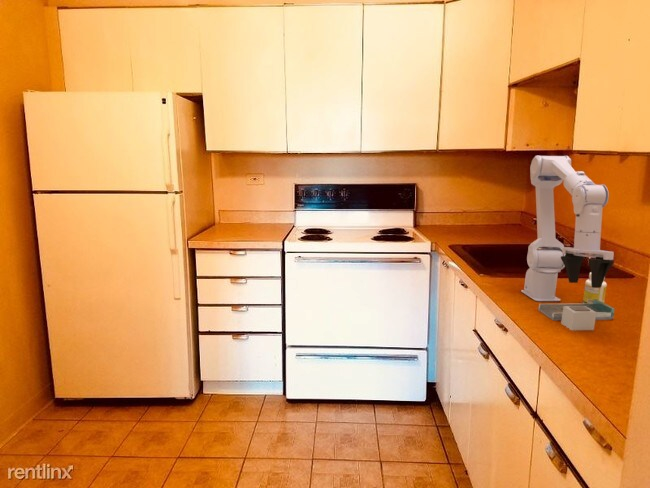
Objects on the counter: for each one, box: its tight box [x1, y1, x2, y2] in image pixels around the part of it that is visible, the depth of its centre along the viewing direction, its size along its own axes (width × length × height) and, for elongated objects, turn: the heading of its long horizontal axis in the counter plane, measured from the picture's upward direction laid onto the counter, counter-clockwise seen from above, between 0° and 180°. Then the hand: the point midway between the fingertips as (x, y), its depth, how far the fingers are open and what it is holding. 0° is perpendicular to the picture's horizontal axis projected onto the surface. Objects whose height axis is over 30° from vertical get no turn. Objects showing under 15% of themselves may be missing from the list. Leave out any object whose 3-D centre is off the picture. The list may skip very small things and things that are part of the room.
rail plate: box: [538, 299, 615, 321], centre depth 122 cm, size 17×8×3 cm, turn 93°
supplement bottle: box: [582, 271, 608, 303], centre depth 129 cm, size 5×5×10 cm
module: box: [560, 306, 596, 331], centre depth 113 cm, size 4×6×5 cm
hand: (584, 284), depth 111 cm, fingers open, 7 cm apart
